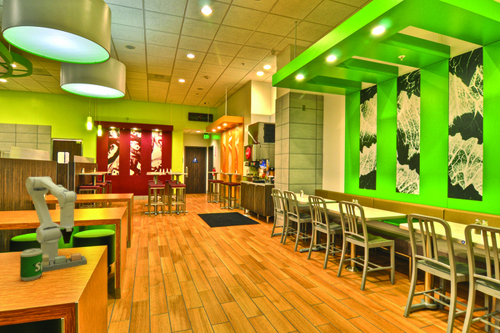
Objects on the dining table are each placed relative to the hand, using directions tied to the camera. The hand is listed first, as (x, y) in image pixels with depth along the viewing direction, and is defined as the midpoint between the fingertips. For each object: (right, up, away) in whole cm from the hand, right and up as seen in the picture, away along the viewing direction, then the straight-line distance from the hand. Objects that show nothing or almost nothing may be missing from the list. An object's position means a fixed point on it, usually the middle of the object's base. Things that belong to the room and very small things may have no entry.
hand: (66, 243), depth 137 cm
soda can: (-3, -10, -18) cm, 21 cm away
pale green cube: (0, -9, -4) cm, 10 cm away
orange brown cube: (+5, -9, 0) cm, 10 cm away
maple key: (-5, -8, -8) cm, 13 cm away
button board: (0, -10, -4) cm, 11 cm away
